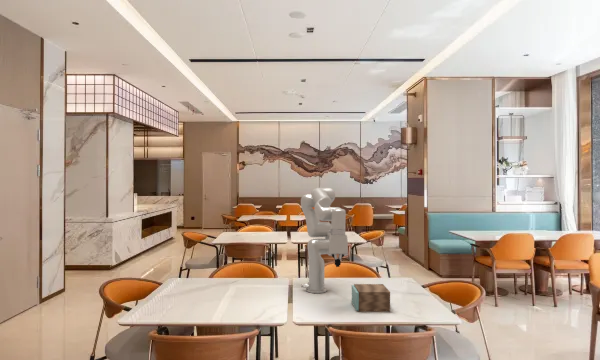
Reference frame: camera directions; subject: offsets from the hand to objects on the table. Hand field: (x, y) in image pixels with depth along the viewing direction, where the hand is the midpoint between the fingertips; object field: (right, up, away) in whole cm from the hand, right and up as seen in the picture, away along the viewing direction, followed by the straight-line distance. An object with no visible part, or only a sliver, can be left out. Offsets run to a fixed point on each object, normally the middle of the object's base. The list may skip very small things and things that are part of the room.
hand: (337, 266), depth 216 cm
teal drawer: (+16, -21, 0) cm, 27 cm away
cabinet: (+18, -22, 0) cm, 28 cm away
